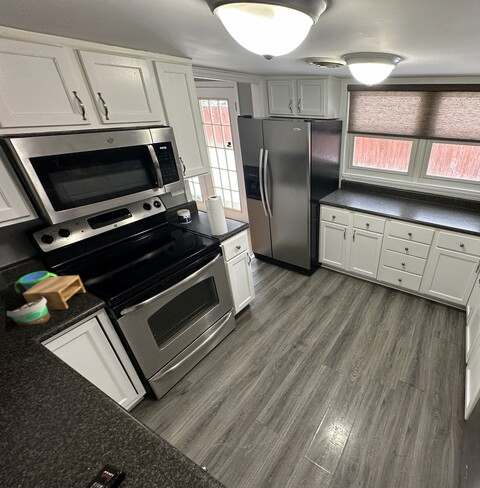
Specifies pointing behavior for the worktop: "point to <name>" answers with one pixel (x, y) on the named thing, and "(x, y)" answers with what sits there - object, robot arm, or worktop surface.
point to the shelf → (55, 291)
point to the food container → (31, 313)
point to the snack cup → (33, 279)
